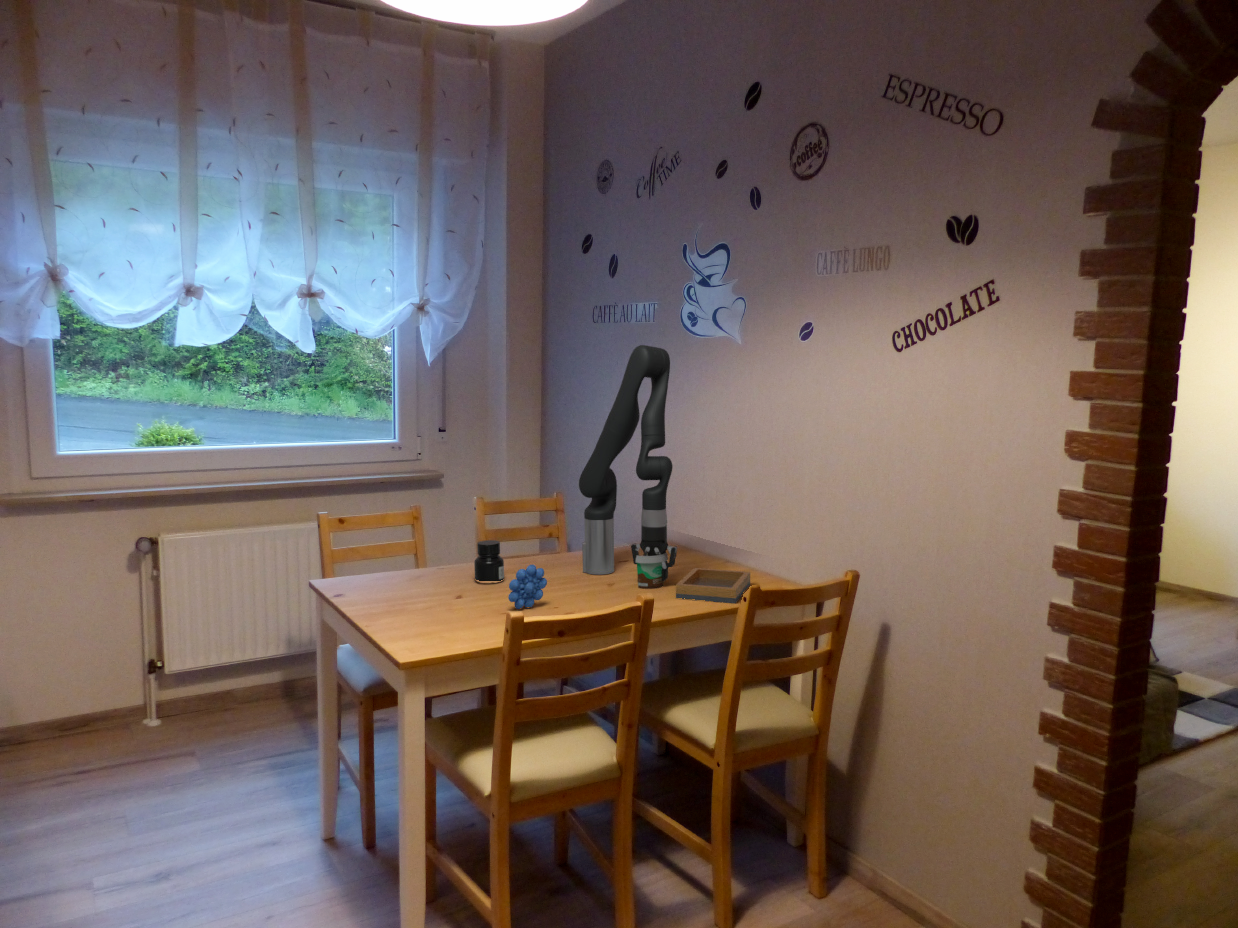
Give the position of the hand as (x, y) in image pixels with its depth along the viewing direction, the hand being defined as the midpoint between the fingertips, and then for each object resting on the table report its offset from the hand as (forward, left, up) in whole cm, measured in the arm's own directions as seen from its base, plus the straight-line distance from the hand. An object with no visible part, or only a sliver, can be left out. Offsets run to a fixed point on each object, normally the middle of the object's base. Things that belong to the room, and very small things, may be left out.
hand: (654, 579), depth 270 cm
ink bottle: (-49, -9, -2) cm, 50 cm away
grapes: (-26, -32, -2) cm, 42 cm away
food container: (+1, 0, -2) cm, 2 cm away
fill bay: (+18, -1, -2) cm, 19 cm away
